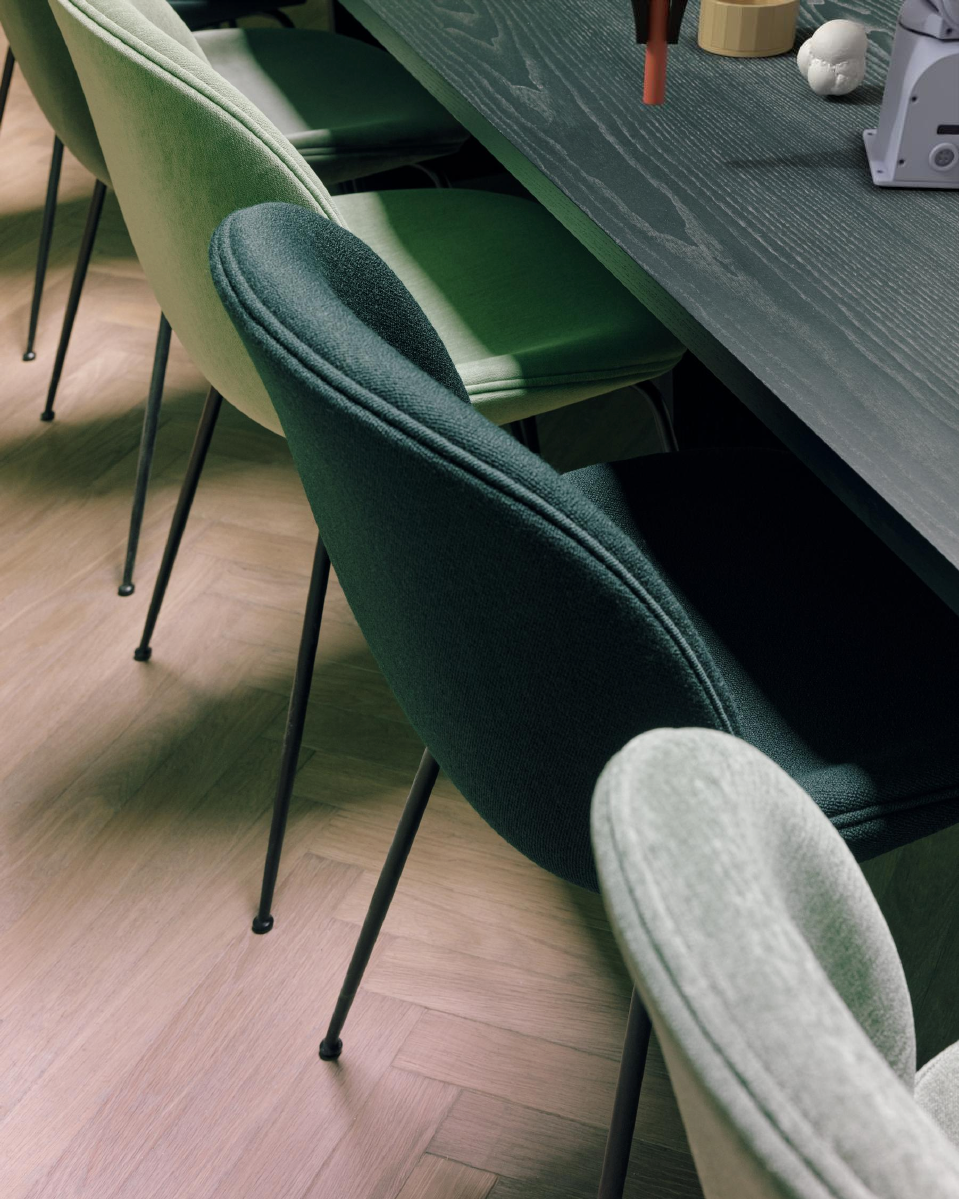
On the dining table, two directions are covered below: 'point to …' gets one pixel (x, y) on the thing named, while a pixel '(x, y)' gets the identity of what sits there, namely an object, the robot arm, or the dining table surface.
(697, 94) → the dining table surface
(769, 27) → the tumbler
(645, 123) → the dining table surface
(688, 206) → the dining table surface
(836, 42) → the microfossil shell
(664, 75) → the straw
